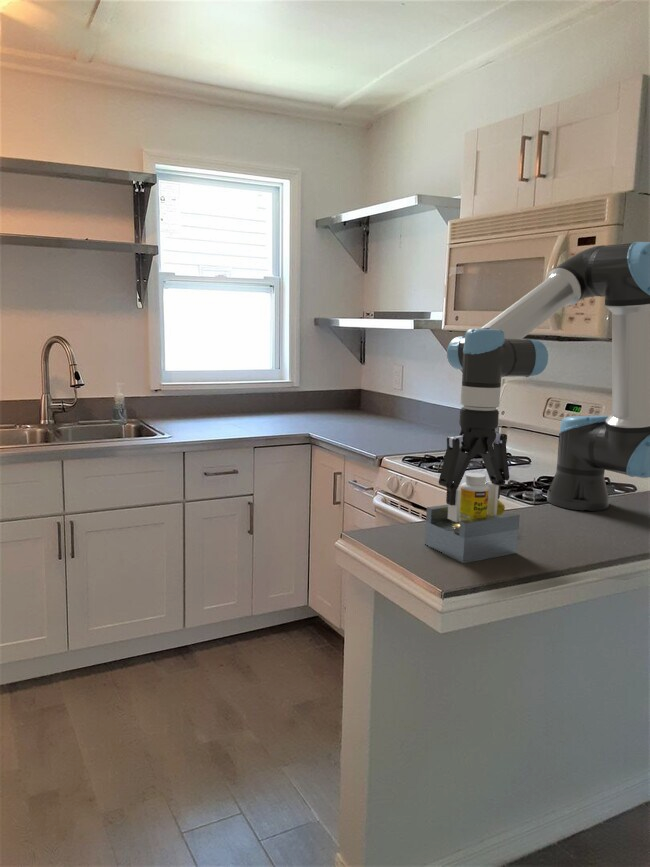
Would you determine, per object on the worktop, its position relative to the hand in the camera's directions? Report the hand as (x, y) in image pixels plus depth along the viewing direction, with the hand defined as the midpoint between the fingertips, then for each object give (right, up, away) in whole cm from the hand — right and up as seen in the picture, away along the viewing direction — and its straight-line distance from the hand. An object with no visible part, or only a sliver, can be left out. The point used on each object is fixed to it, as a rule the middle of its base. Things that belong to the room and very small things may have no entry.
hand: (472, 517), depth 137 cm
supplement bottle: (0, -2, 0) cm, 2 cm away
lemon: (+5, -4, +18) cm, 19 cm away
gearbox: (0, -7, +1) cm, 7 cm away
